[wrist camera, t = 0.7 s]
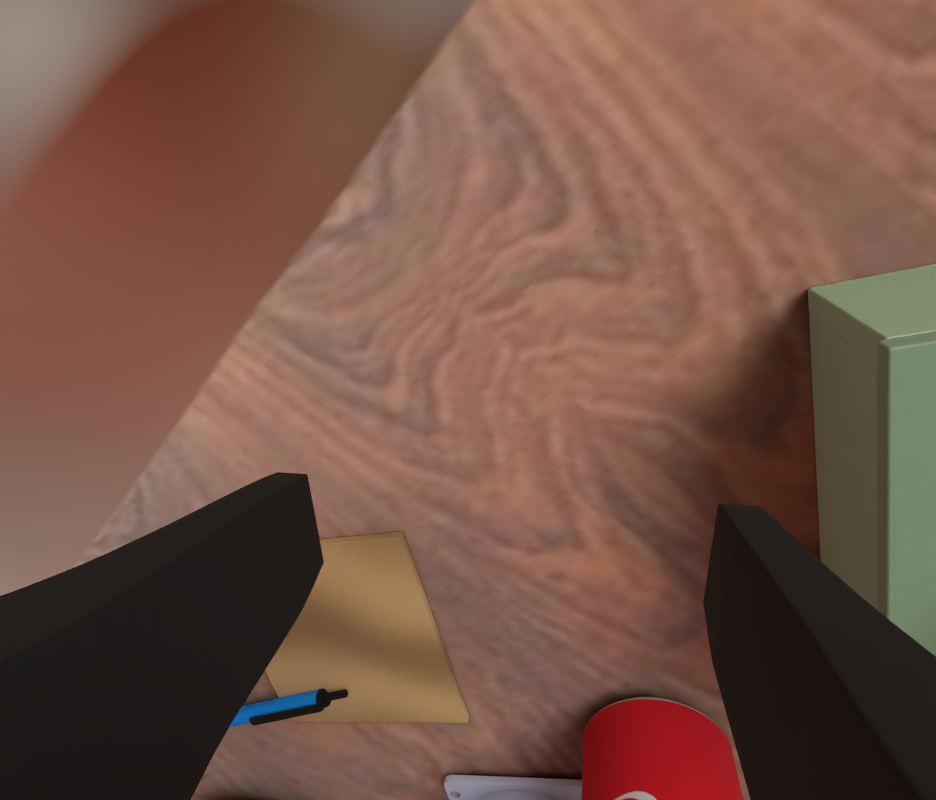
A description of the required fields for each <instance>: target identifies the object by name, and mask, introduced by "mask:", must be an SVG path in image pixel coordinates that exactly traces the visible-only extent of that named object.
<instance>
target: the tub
mask: <svg viewBox="0 0 936 800" xmlns="http://www.w3.org/2000/svg"><path fill="white" fill-rule="evenodd" d="M808 305H809V313H810V315H809V325H810V346H811V367H812V388H813V409H814V431H815V452H816V473H817V494H818V516H819V537H820V558H821V562H822V563H823V564H825V565H826V566H827V567H828V568H829V569H830V570H831V571H832V572H833V573H835V574H836V575H837V576H838V577H839V578H840V579H841V580H843V581H844V582H845V583H846V584H847V585H848V586H849V587H851V588H852V589H853V590H854V591H855V592H856V593H858V594H859V595H860V596H861V597H862V598H863V599H865V600H866V601H867V602H868V603H869V604H871V605H872V606H873V607H874V608H875V609H877V610H878V611H879V612H880V613H881V614H883V615H884V616H885V617H886V618H888V619H889V620H890V621H891V622H892V623H894V624H895V625H896V626H898V627H899V628H900V629H901V630H903V631H904V632H905V633H906V634H908V635H909V636H910V637H911V638H913V639H914V640H915V641H917V642H918V643H919V644H920V645H922V646H923V647H924V648H925V649H927V650H928V651H929V652H931V653H932V654H933V655H934V656H936V264H931V265H926V266H921V267H916V268H911V269H905V270H900V271H895V272H890V273H885V274H879V275H874V276H869V277H864V278H859V279H853V280H848V281H843V282H838V283H833V284H827V285H822V286H817V287H812V288H809V289H808Z"/></svg>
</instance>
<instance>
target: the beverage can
mask: <svg viewBox="0 0 936 800" xmlns="http://www.w3.org/2000/svg"><path fill="white" fill-rule="evenodd" d="M581 800H743V797H742V793H741V789H740V784H739V780H738V775H737V771H736V767H735V762H734V758H733V753H732V749H731V746H730V743H729V741H728V739H727V737H726V735H725V734H724V732H723V731H722V730H721V729H720V728H719V727H718V725H717V724H716V723H715V722H713V721H712V720H711V719H710V718H708V717H707V716H705V715H704V714H702V713H701V712H699V711H697V710H695V709H693V708H691V707H689V706H687V705H685V704H682V703H679V702H676V701H672V700H668V699H664V698H658V697H635V698H629V699H625V700H621V701H618V702H615V703H613V704H610V705H608V706H606V707H605V708H603V709H601V710H600V711H598V712H597V713H596V714H595V715H594V716H593V717H592V718H591V719H590V720H589V722H588V724H587V725H586V727H585V730H584V733H583V748H582V799H581Z"/></svg>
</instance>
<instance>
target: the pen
mask: <svg viewBox="0 0 936 800" xmlns="http://www.w3.org/2000/svg"><path fill="white" fill-rule="evenodd" d="M347 696H348V691H347V690H346V689H344V690H339V691H335V692H330V693H328V692H327V691H326V690H325V689H324V688H323V689H318V690H314V691H309V692H304V693H300V694H295V695H290V696H286V697H281V698H277V699H272V700H267V701H263V702H258V703H254V704H249V705H244V706H242V707H241V709H240V710H239V712H238V714H237V715H236V717H235V718H234V720H233V721H232V723H231V725H230V726H235V725H240V724H245V723H251V724H252V725H258V724H263V723H268V722H273V721H278V720H283V719H288V718H293V717H298V716H303V715H308V714H313V713H318V712H321V711H323V710H324V708H325V707H328V706H329V705H330V703H331V701H333V700H337V699H342V698H346V697H347ZM230 726H229V727H230Z"/></svg>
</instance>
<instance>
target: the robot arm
mask: <svg viewBox="0 0 936 800" xmlns="http://www.w3.org/2000/svg"><path fill="white" fill-rule="evenodd" d="M323 563H324V560H323V555H322V550H321V544H320V539H319V534H318V529H317V524H316V518H315V513H314V508H313V503H312V497H311V492H310V487H309V482H308V477H307V474H294V473H280V472H277V473H275V474H272V475H270V476H267V477H265V478H262V479H260V480H258V481H256V482H253V483H251V484H249V485H247V486H245V487H243V488H241V489H239V490H237V491H235V492H233V493H231V494H229V495H227V496H225V497H223V498H221V499H219V500H217V501H215V502H213V503H211V504H209V505H207V506H205V507H203V508H201V509H199V510H197V511H195V512H193V513H191V514H189V515H187V516H185V517H183V518H181V519H179V520H177V521H175V522H173V523H171V524H169V525H167V526H165V527H163V528H160V529H158V530H156V531H154V532H152V533H150V534H148V535H145V536H143V537H141V538H139V539H137V540H135V541H133V542H131V543H128V544H126V545H124V546H122V547H120V548H118V549H116V550H113V551H111V552H109V553H107V554H105V555H103V556H100V557H98V558H96V559H94V560H91V561H89V562H87V563H84V564H82V565H79V566H77V567H75V568H72V569H70V570H67V571H65V572H63V573H60V574H57V575H55V576H52V577H50V578H47V579H45V580H42V581H40V582H37V583H34V584H32V585H29V586H27V587H24V588H21V589H19V590H16V591H13V592H11V593H8V594H5V595H2V596H0V800H190V799H191V797H192V795H193V794H194V792H195V790H196V788H197V786H198V784H199V782H200V780H201V778H202V776H203V774H204V772H205V770H206V768H207V766H208V764H209V762H210V760H211V758H212V756H213V754H214V753H215V751H216V749H217V747H218V745H219V744H220V742H221V740H222V739H223V737H224V735H225V733H226V732H227V730H228V728H229V726H230V725H231V723H232V721H233V720H234V718H235V717H236V715H237V714H238V712H239V710H240V709H241V707H242V706H243V704H244V703H245V701H246V699H247V698H248V696H249V695H250V693H251V691H252V690H253V688H254V687H255V685H256V684H257V682H258V680H259V679H260V677H261V676H262V674H263V673H264V671H265V669H266V668H267V666H268V665H269V663H270V662H271V660H272V658H273V657H274V655H275V654H276V652H277V650H278V649H279V647H280V646H281V644H282V642H283V641H284V639H285V638H286V636H287V634H288V633H289V631H290V630H291V628H292V626H293V625H294V623H295V621H296V620H297V618H298V616H299V615H300V613H301V611H302V610H303V608H304V605H305V603H306V601H307V599H308V597H309V595H310V593H311V591H312V589H313V586H314V584H315V582H316V579H317V577H318V575H319V573H320V570H321V568H322V566H323ZM703 603H704V610H705V617H706V624H707V631H708V638H709V644H710V650H711V656H712V662H713V666H714V670H715V674H716V677H717V681H718V685H719V688H720V692H721V695H722V699H723V703H724V706H725V710H726V714H727V717H728V721H729V724H730V728H731V731H732V735H733V738H734V742H735V745H736V749H737V752H738V756H739V760H740V763H741V767H742V770H743V774H744V777H745V781H746V784H747V788H748V791H749V795H750V799H751V800H936V656H934V655H933V654H932V653H931V652H929V651H928V650H927V649H925V648H924V647H923V646H922V645H920V644H919V643H918V642H917V641H915V640H914V639H913V638H911V637H910V636H909V635H908V634H906V633H905V632H904V631H903V630H901V629H900V628H899V627H898V626H896V625H895V624H894V623H892V622H891V621H890V620H889V619H888V618H886V617H885V616H884V615H883V614H881V613H880V612H879V611H878V610H877V609H875V608H874V607H873V606H872V605H871V604H869V603H868V602H867V601H866V600H865V599H863V598H862V597H861V596H860V595H859V594H858V593H856V592H855V591H854V590H853V589H852V588H851V587H849V586H848V585H847V584H846V583H845V582H844V581H843V580H841V579H840V578H839V577H838V576H837V575H836V574H835V573H833V572H832V571H831V570H830V569H829V568H828V567H827V566H826V565H825V564H823V563H822V562H821V561H820V560H819V559H818V558H817V557H816V556H815V555H813V554H812V553H811V552H810V551H809V550H808V549H807V548H806V547H805V546H804V545H802V544H801V543H800V542H799V541H798V540H797V539H796V538H795V537H794V536H793V535H792V534H790V533H789V532H788V531H787V530H786V529H785V528H784V527H783V526H782V525H781V524H780V523H779V522H777V521H776V520H775V519H774V518H773V517H772V516H771V515H770V514H769V513H767V512H766V511H765V510H764V509H763V508H762V507H760V506H752V505H737V504H723V503H718V509H717V516H716V522H715V529H714V535H713V542H712V549H711V555H710V562H709V568H708V575H707V582H706V588H705V595H704V602H703ZM444 788H445V791H446V793H447V795H448V798H449V800H581V799H582V780H579V779H553V778H527V777H502V776H476V775H448V776H446V778H445V781H444Z"/></svg>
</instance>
